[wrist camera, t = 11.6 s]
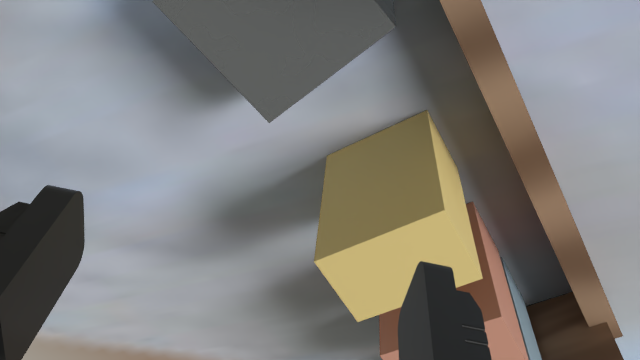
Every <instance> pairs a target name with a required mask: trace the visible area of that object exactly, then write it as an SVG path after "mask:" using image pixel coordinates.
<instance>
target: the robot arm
mask: <svg viewBox="0 0 640 360" xmlns="http://www.w3.org/2000/svg"><path fill="white" fill-rule="evenodd" d="M83 250H84V205H83V195H82V193H81V192H80V191H75V190H70V189H65V188H60V187H55V186H50V185H47V186H45V187H44V188H43V189H42V190H41V192H40V193H39V194H38V195H37V196H36V198H35V199H34V200H33V201H32V203H31V204H27V203H22V202H17V203H16V204H14V205H12V206H10V207H8V208H7V209H5V210H3V211H1V212H0V360H21V359H22V358H23V356H24V354H25V353H26V351H27V350H28V348H29V346H30V345H31V343H32V341H33V340H34V338H35V336H36V335H37V333H38V332H39V330H40V328H41V327H42V325H43V323H44V322H45V320H46V318H47V317H48V315H49V314H50V312H51V310H52V309H53V307H54V305H55V304H56V302H57V301H58V299H59V297H60V296H61V294H62V292H63V291H64V289H65V287H66V286H67V284H68V283H69V281H70V279H71V278H72V276H73V274H74V273H75V271H76V269H77V268H78V266H79V263H80V261H81V258H82V255H83ZM398 348H399V360H492V359H491V354H490V349H489V347H488V339H487V334H486V332H485V325H484V320H483V315H482V310H481V309H480V308H479V306H478V305H477V303H476V302H475V300H474V299H473V297H472V296H471V294H470V293H468V292H463V291H458V290H456V286H455V280H454V274H453V270H452V268H451V267H448V266H443V265H438V264H433V263H428V262H423V261H420V262H419V263H418V265H417V267H416V270H415V273H414V275H413V278H412V280H411V283H410V286H409V288H408V291H407V294H406V296H405V299H404V301H403V304H402V307H401V310H400V315H399V321H398Z"/></svg>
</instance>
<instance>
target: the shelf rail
mask: <svg viewBox="0 0 640 360" xmlns="http://www.w3.org/2000/svg"><path fill="white" fill-rule="evenodd" d="M440 3H441V5H442V7H443V9H444V11H445V13H446V16H447V18H448V20H449V22H450V24H451V27H452V29H453V31H454V33H455V35H456V37H457V40H458V42H459V44H460V46H461V48H462V51H463V53H464V55H465V57H466V59H467V62H468V64H469V66H470V68H471V70H472V72H473V75H474V77H475V79H476V81H477V83H478V86H479V88H480V90H481V92H482V94H483V97H484V99H485V101H486V103H487V105H488V107H489V110H490V112H491V114H492V116H493V118H494V121H495V123H496V125H497V127H498V129H499V131H500V134H501V136H502V138H503V140H504V142H505V145H506V147H507V149H508V151H509V153H510V156H511V158H512V160H513V162H514V164H515V166H516V169H517V171H518V173H519V175H520V177H521V180H522V182H523V184H524V186H525V188H526V191H527V193H528V195H529V197H530V199H531V201H532V204H533V206H534V208H535V210H536V212H537V215H538V217H539V219H540V221H541V223H542V225H543V228H544V230H545V232H546V234H547V236H548V239H549V241H550V243H551V245H552V247H553V250H554V252H555V254H556V256H557V258H558V260H559V263H560V265H561V267H562V269H563V271H564V274H565V276H566V278H567V280H568V282H569V285H570V287H571V289H572V291H573V292H570V293H567V294H564V295H561V296H558V297H555V298H552V299H549V300H546V301H543V302H539V303H536V304H533V305H530V306H527V307H526V309H527V312H528V316H529V319H530V322H531V325H532V329H533V332H534V335H535V339H536V342H537V345H538V349H539V352H540V355H541V358H542V360H624V359H623V357H622V355H621V353H620V350H619V348H618V346H617V344H616V342H615V338H618V337H622V336H623V335H622V333H621V331H620V328H619V326H618V323H617V321H616V319H615V316H614V314H613V312H612V309H611V307H610V305H609V302H608V300H607V297H606V295H605V293H604V290H603V288H602V286H601V283H600V281H599V279H598V276H597V274H596V272H595V269H594V267H593V264H592V262H591V260H590V257H589V255H588V253H587V250H586V248H585V246H584V243H583V241H582V238H581V236H580V234H579V231H578V229H577V227H576V224H575V222H574V220H573V217H572V215H571V212H570V210H569V208H568V205H567V203H566V201H565V198H564V196H563V194H562V191H561V189H560V187H559V184H558V182H557V179H556V177H555V175H554V172H553V170H552V168H551V165H550V163H549V161H548V158H547V156H546V153H545V151H544V149H543V146H542V144H541V142H540V139H539V137H538V135H537V132H536V130H535V127H534V125H533V123H532V120H531V118H530V116H529V113H528V111H527V109H526V106H525V104H524V101H523V99H522V97H521V94H520V92H519V90H518V87H517V85H516V83H515V80H514V78H513V76H512V73H511V71H510V68H509V66H508V64H507V61H506V59H505V57H504V54H503V52H502V50H501V47H500V45H499V42H498V40H497V38H496V35H495V33H494V31H493V28H492V26H491V24H490V21H489V19H488V16H487V14H486V12H485V9H484V7H483V5H482V2H481V0H440Z"/></svg>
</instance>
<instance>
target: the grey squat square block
mask: <svg viewBox="0 0 640 360" xmlns="http://www.w3.org/2000/svg"><path fill="white" fill-rule="evenodd" d="M153 2H154V3H155V5H156V6H157V7H158V8H159V9H160V10H161V11H162V12H163V13H164V14H165V15H166V16H167V17H168V18H169V19H170V20H171V21H172V22H173V23H174V24H175V25H176V26H177V27H178V29H179V30H180V31H181V32H182V33H183V34H184V35H185V36H186V37H187V38H188V39H189V40H190V41H191V42H192V43H193V44H194V45H195V46H196V47H197V48H198V49H199V50H200V51H201V52H202V54H203V55H204V56H205V57H206V58H207V59H208V60H209V61H210V62H211V63H212V64H213V65H214V66H215V67H216V68H217V69H218V70H219V71H220V72H221V73H222V74H223V75H224V76H225V78H226V79H227V80H228V81H229V82H230V83H231V84H232V85H233V86H234V87H235V88H236V89H237V90H238V91H239V92H240V93H241V94H242V95H243V96H244V97H245V98H246V99H247V100H248V101H249V103H250V104H251V105H252V106H253V107H254V108H255V109H256V110H257V111H258V112H259V113H260V114H261V115H262V116H263V117H264V118H265V119H266V120H267V121H268V122H269V123H270V122H271V121H273V120H274V119H275V118H277V117H278V116H279V115H281V114H282V113H283V112H284V111H286V110H287V109H288V108H290V107H291V106H292V105H294V104H295V103H296V102H298V101H299V100H300V99H302V98H303V97H304V96H306V95H307V94H308V93H310V92H311V91H312V90H314V89H315V88H316V87H317V86H319V85H320V84H321V83H323V82H324V81H325V80H327V79H328V78H329V77H331V76H332V75H333V74H335V73H336V72H337V71H339V70H340V69H341V68H343V67H344V66H345V65H347V64H348V63H349V62H350V61H352V60H353V59H354V58H356V57H357V56H358V55H360V54H361V53H362V52H364V51H365V50H366V49H368V48H369V47H370V46H372V45H373V44H374V43H376V42H377V41H378V40H380V39H381V38H382V37H383V36H385V35H386V34H387V33H389V32H390V31H391V30H393V29H394V28H395V27H396V24H395V15H394V6H393V0H154V1H153Z"/></svg>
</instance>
